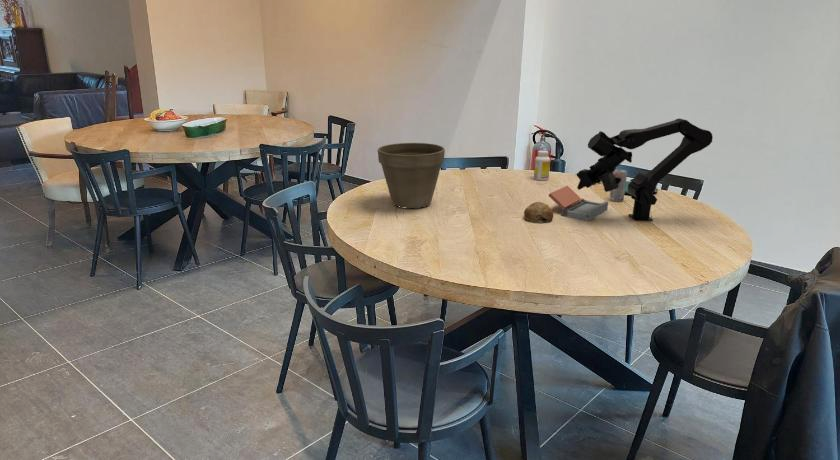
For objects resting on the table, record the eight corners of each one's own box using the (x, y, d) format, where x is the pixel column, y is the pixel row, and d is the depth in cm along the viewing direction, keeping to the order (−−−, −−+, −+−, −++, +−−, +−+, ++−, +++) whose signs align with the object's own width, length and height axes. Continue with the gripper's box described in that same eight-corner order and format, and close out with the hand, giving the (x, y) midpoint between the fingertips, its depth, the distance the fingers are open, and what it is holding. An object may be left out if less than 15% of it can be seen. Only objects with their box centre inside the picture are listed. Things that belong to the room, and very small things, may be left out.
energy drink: (621, 198, 223) (625, 169, 220) (624, 202, 218) (628, 172, 214) (607, 198, 224) (611, 168, 220) (610, 201, 219) (614, 171, 215)
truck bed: (607, 209, 208) (608, 201, 207) (588, 221, 195) (589, 212, 194) (586, 205, 213) (587, 197, 212) (566, 216, 200) (567, 208, 199)
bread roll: (527, 232, 194) (534, 215, 188) (517, 213, 201) (522, 196, 195) (553, 230, 196) (560, 213, 191) (542, 211, 203) (548, 194, 198)
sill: (587, 205, 213) (587, 199, 212) (566, 216, 199) (567, 210, 199) (581, 204, 214) (582, 198, 214) (561, 215, 201) (561, 208, 200)
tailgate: (581, 198, 212) (567, 185, 214) (564, 207, 201) (550, 193, 203) (579, 201, 213) (565, 188, 215) (562, 210, 202) (547, 196, 204)
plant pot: (369, 210, 205) (368, 152, 198) (388, 193, 227) (388, 140, 220) (435, 215, 199) (437, 156, 192) (448, 198, 222) (450, 144, 215)
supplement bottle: (550, 178, 255) (553, 151, 250) (545, 181, 249) (548, 153, 245) (536, 176, 258) (538, 149, 254) (531, 179, 253) (533, 151, 248)
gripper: (614, 184, 183) (580, 211, 194) (634, 174, 197) (602, 200, 207) (592, 159, 186) (561, 187, 196) (614, 150, 199) (584, 177, 210)
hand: (578, 188), depth 202 cm, fingers closed
